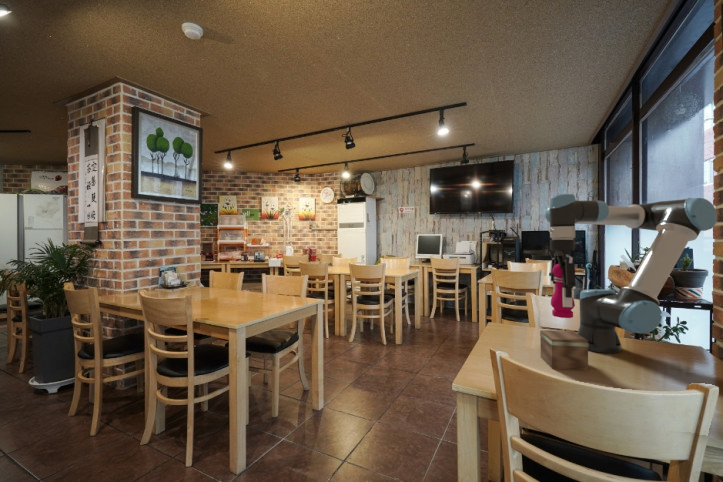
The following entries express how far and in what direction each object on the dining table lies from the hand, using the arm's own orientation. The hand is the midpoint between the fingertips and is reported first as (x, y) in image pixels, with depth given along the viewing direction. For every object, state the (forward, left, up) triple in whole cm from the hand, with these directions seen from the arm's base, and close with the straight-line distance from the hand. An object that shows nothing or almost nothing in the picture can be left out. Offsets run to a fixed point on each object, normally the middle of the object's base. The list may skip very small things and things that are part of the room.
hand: (562, 304), depth 116 cm
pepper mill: (0, 0, -4) cm, 4 cm away
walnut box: (0, 0, -21) cm, 21 cm away
